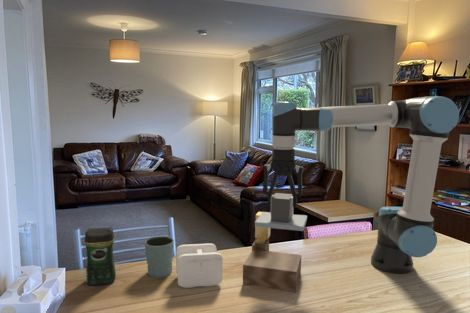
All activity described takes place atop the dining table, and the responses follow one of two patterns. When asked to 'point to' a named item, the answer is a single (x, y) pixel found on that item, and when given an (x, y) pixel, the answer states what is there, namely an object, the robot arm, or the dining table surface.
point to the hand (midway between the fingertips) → (281, 214)
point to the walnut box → (271, 268)
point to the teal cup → (159, 256)
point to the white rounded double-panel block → (198, 265)
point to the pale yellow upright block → (261, 232)
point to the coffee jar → (100, 256)
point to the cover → (281, 215)
